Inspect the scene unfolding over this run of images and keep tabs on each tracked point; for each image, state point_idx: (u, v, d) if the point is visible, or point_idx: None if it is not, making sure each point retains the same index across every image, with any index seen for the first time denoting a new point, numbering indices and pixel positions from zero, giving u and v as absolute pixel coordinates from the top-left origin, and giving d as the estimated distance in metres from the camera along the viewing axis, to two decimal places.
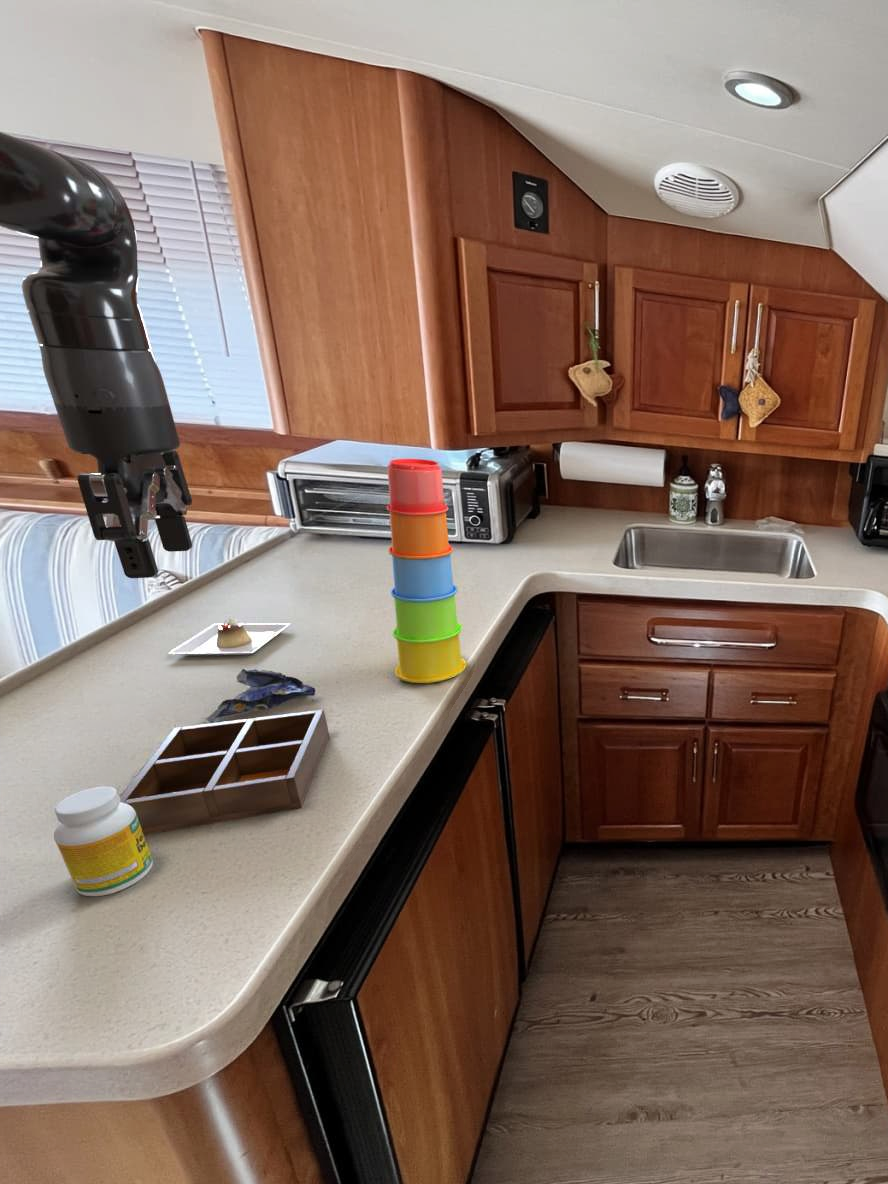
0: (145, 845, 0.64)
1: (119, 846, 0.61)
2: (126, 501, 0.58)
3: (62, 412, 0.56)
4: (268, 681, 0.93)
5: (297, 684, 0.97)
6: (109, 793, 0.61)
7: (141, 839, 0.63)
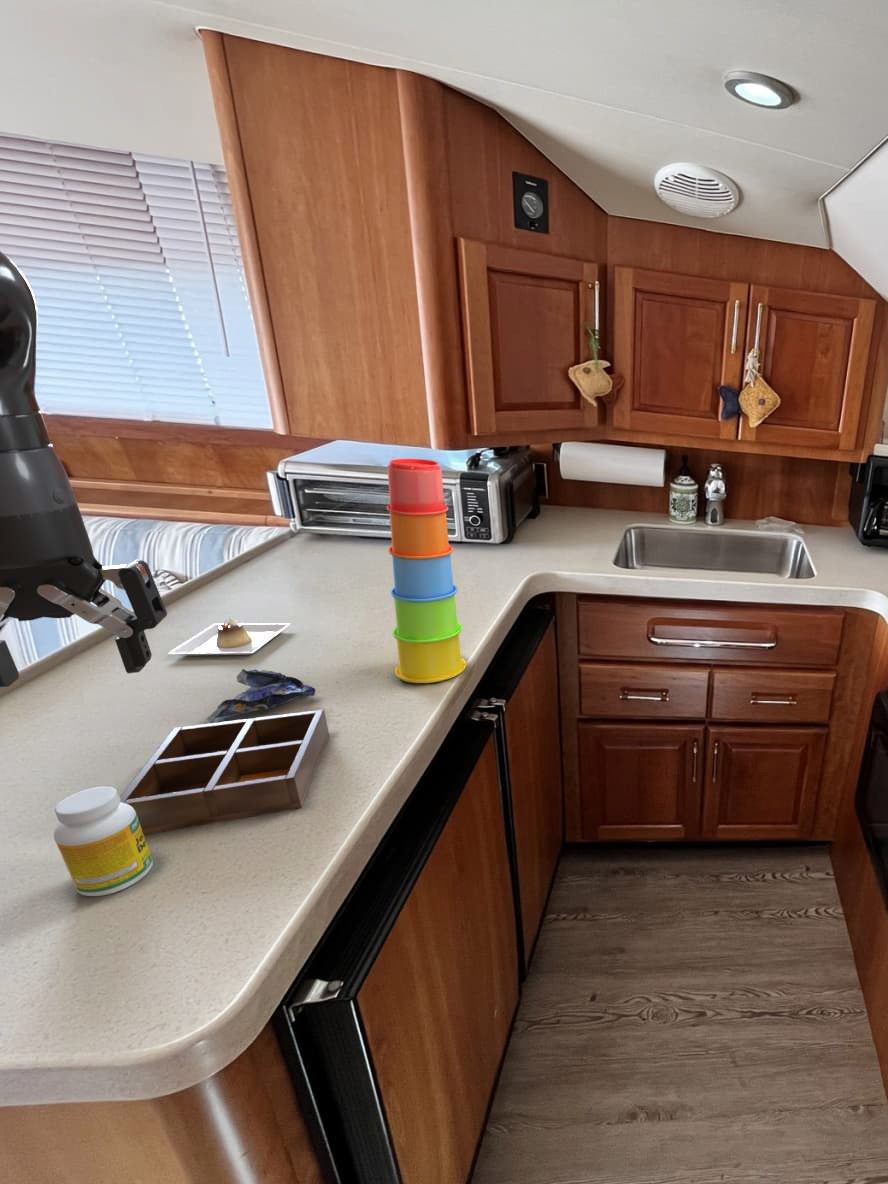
0: (145, 845, 0.64)
1: (120, 846, 0.61)
2: None
3: None
4: (268, 681, 0.93)
5: (297, 684, 0.97)
6: (109, 793, 0.61)
7: (141, 839, 0.63)
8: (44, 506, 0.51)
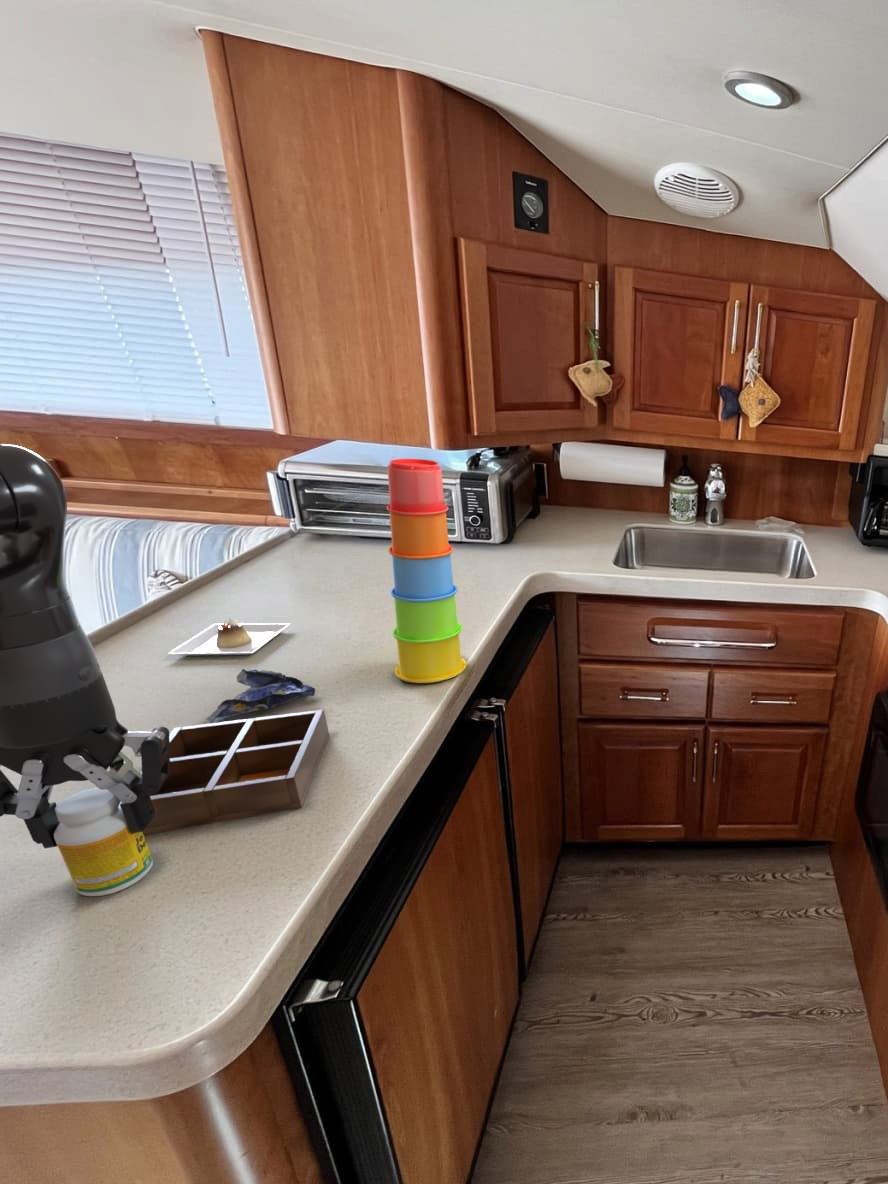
0: (145, 845, 0.64)
1: (120, 846, 0.61)
2: None
3: None
4: (268, 681, 0.93)
5: (297, 684, 0.97)
6: (109, 793, 0.61)
7: (141, 839, 0.63)
8: (71, 687, 0.54)
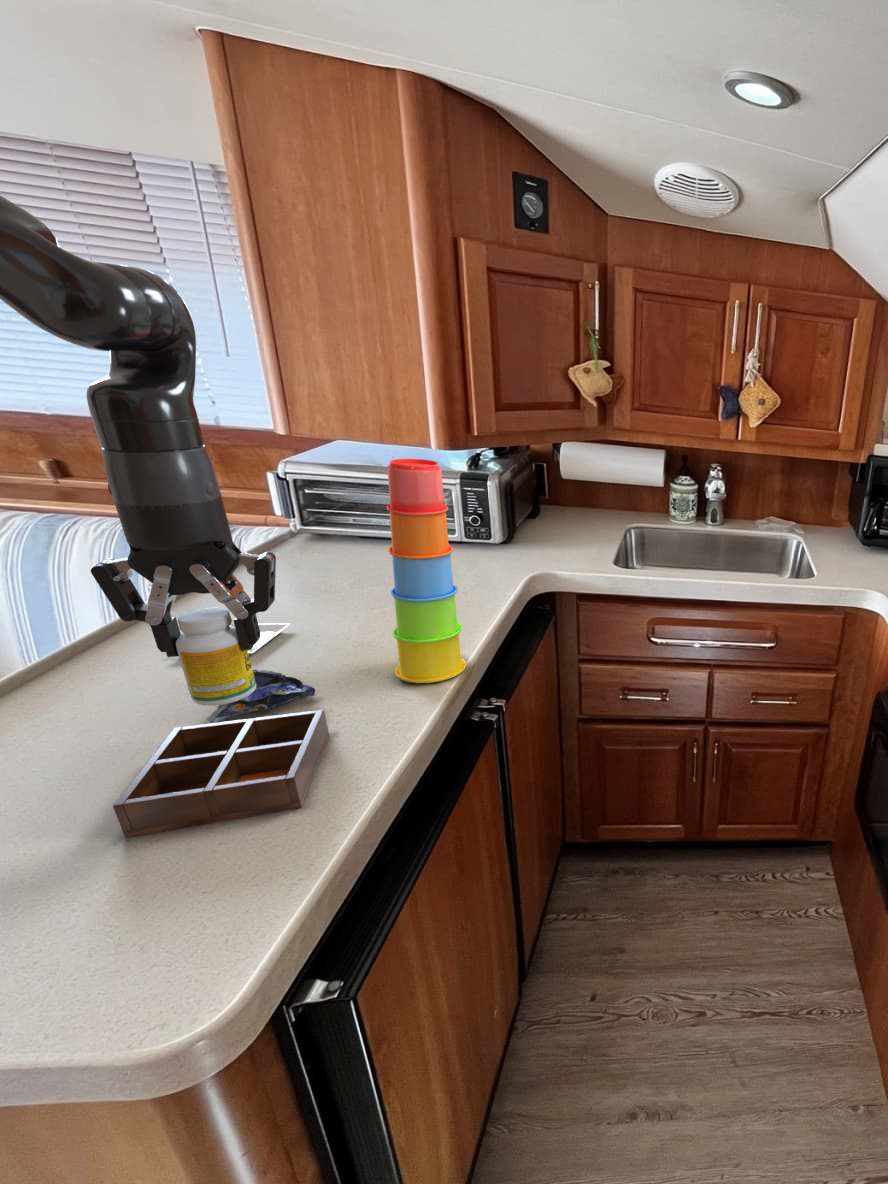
0: (251, 666, 0.70)
1: (232, 660, 0.67)
2: (115, 589, 0.61)
3: None
4: (268, 681, 0.93)
5: (297, 684, 0.97)
6: (223, 611, 0.67)
7: (248, 659, 0.69)
8: (200, 497, 0.61)
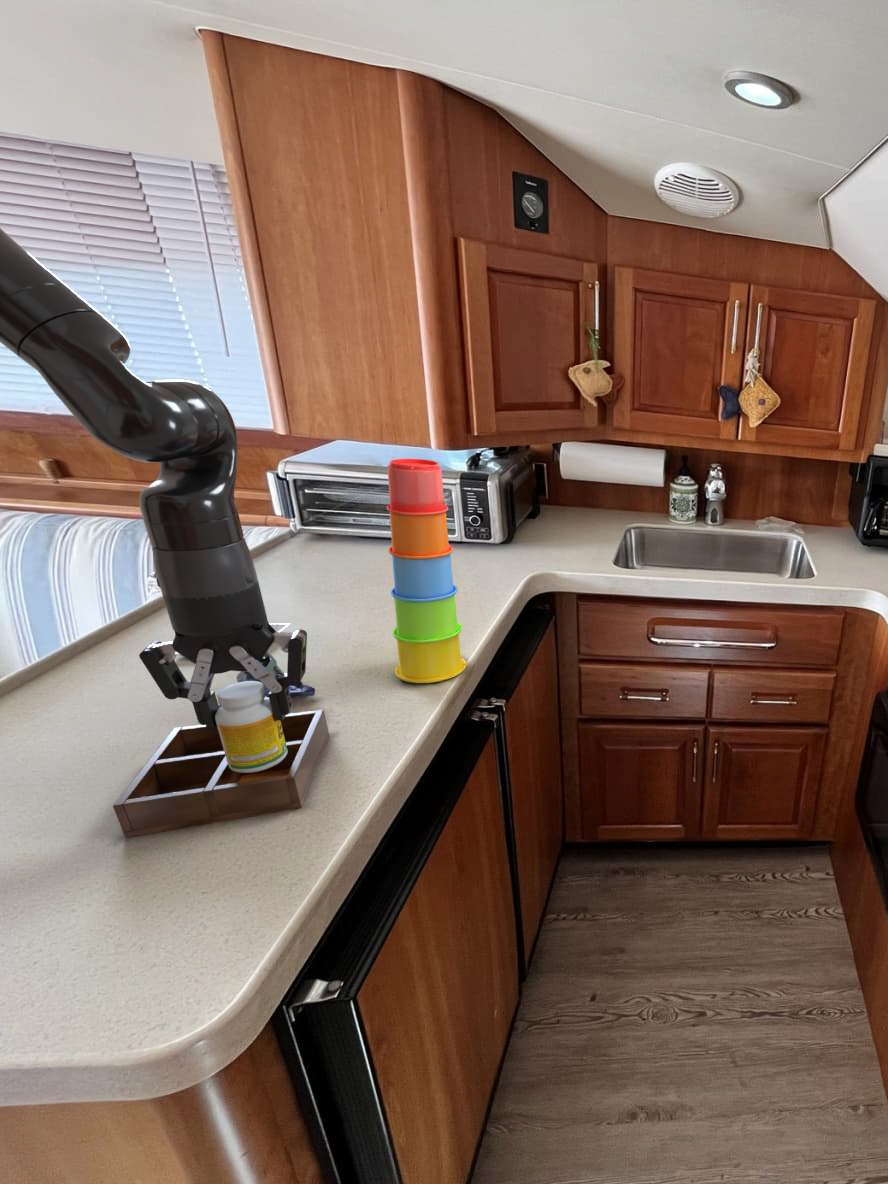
0: (283, 734, 0.74)
1: (267, 730, 0.72)
2: (161, 670, 0.66)
3: None
4: None
5: None
6: (258, 685, 0.72)
7: (280, 727, 0.74)
8: (240, 586, 0.65)
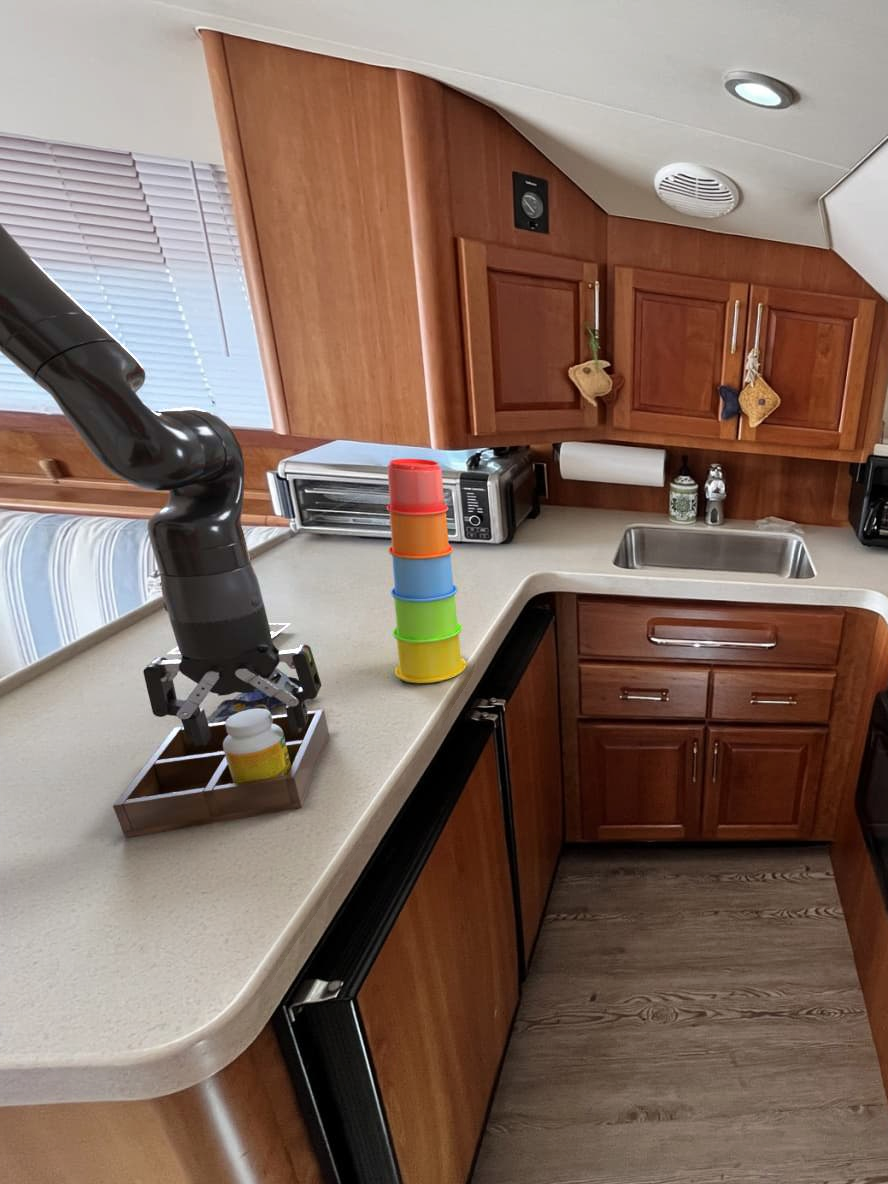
0: (289, 760, 0.76)
1: (273, 757, 0.73)
2: (159, 688, 0.66)
3: None
4: None
5: (297, 684, 0.97)
6: (265, 713, 0.73)
7: (287, 754, 0.75)
8: (246, 610, 0.66)
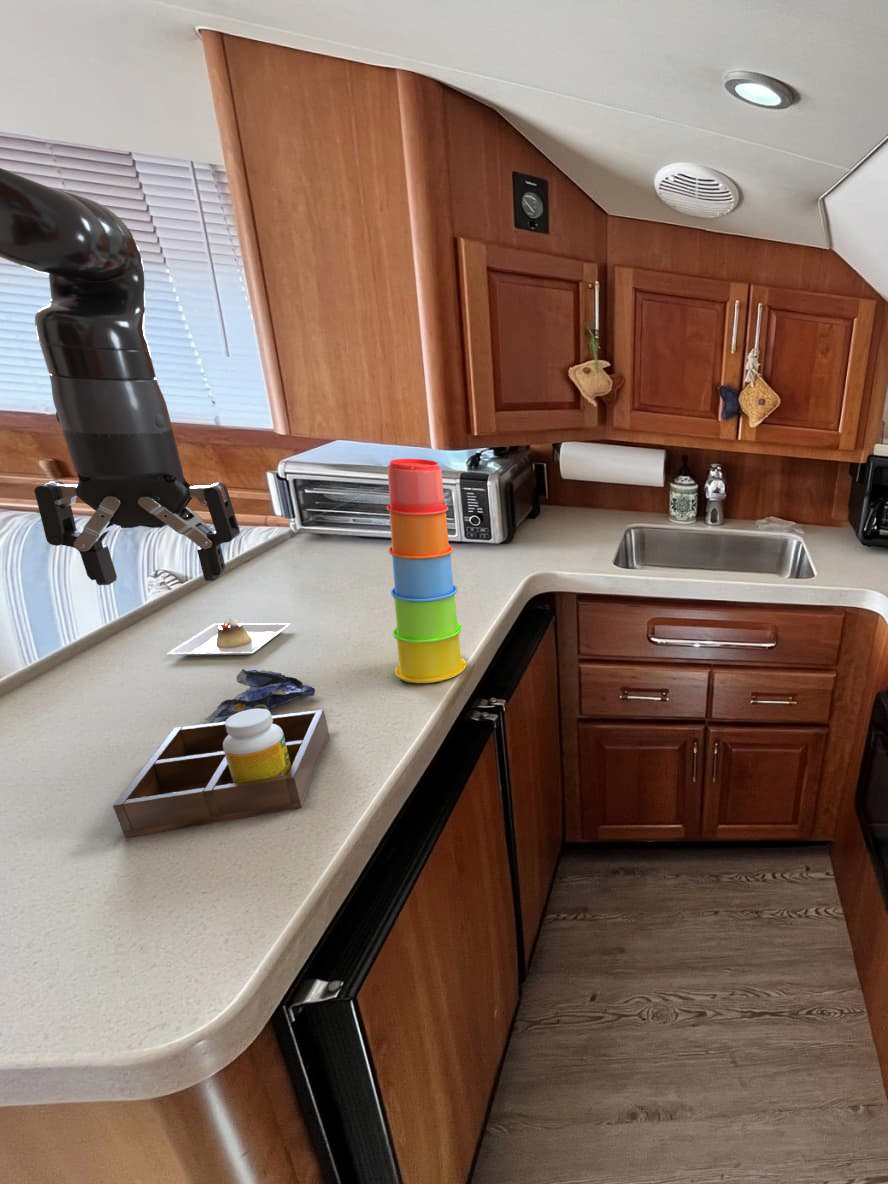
0: (289, 760, 0.76)
1: (273, 757, 0.73)
2: (53, 511, 0.61)
3: None
4: (268, 681, 0.93)
5: (297, 684, 0.97)
6: (265, 713, 0.73)
7: (287, 754, 0.75)
8: (148, 428, 0.61)
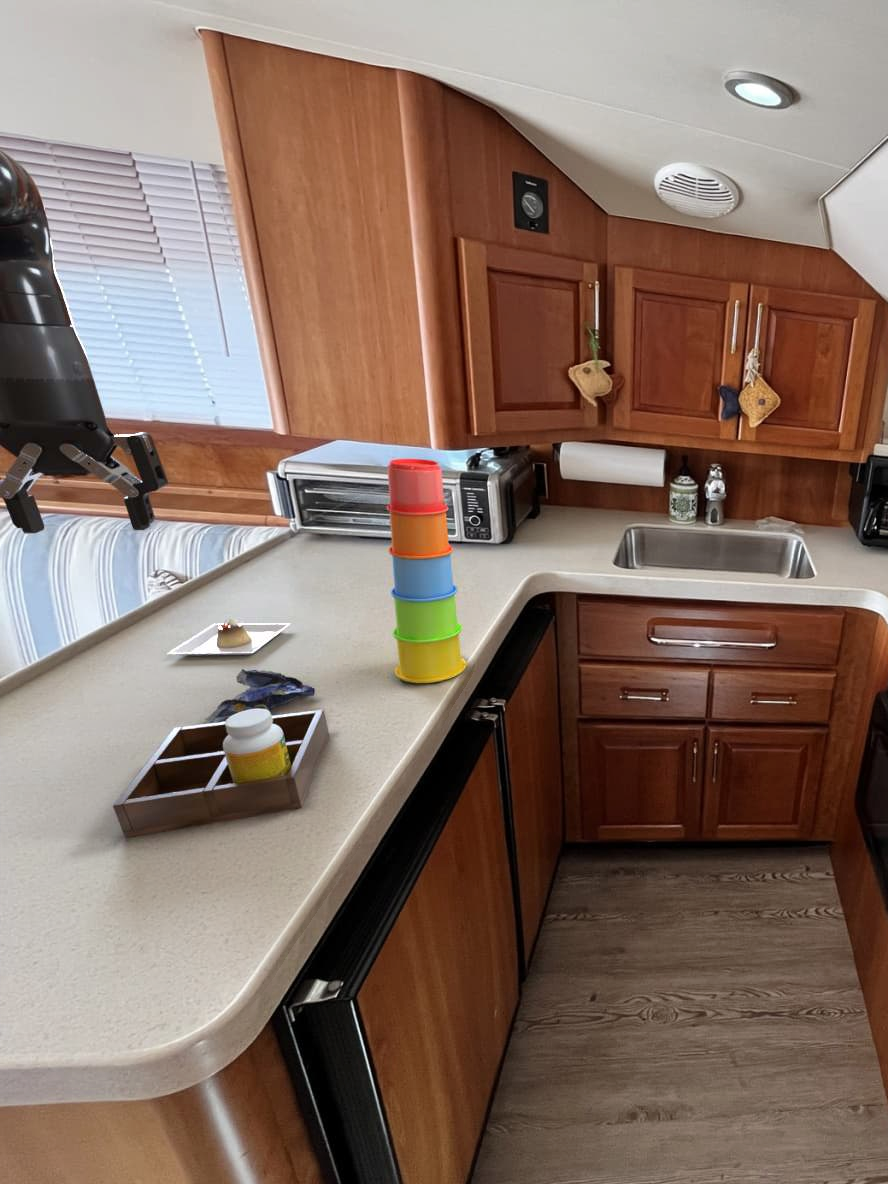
0: (289, 760, 0.76)
1: (273, 757, 0.73)
2: None
3: None
4: (268, 681, 0.93)
5: (297, 684, 0.97)
6: (265, 713, 0.73)
7: (287, 754, 0.75)
8: (66, 374, 0.62)
